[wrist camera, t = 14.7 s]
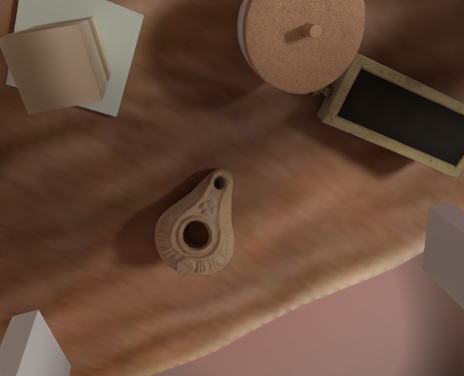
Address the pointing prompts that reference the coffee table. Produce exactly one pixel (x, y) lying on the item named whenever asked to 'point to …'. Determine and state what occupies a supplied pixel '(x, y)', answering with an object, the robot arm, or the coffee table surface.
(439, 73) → the coffee table surface
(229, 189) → the pottery oil lamp
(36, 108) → the maple block
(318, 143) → the coffee table surface
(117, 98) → the felt pad
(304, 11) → the lidded jar
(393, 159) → the coffee table surface
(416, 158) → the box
